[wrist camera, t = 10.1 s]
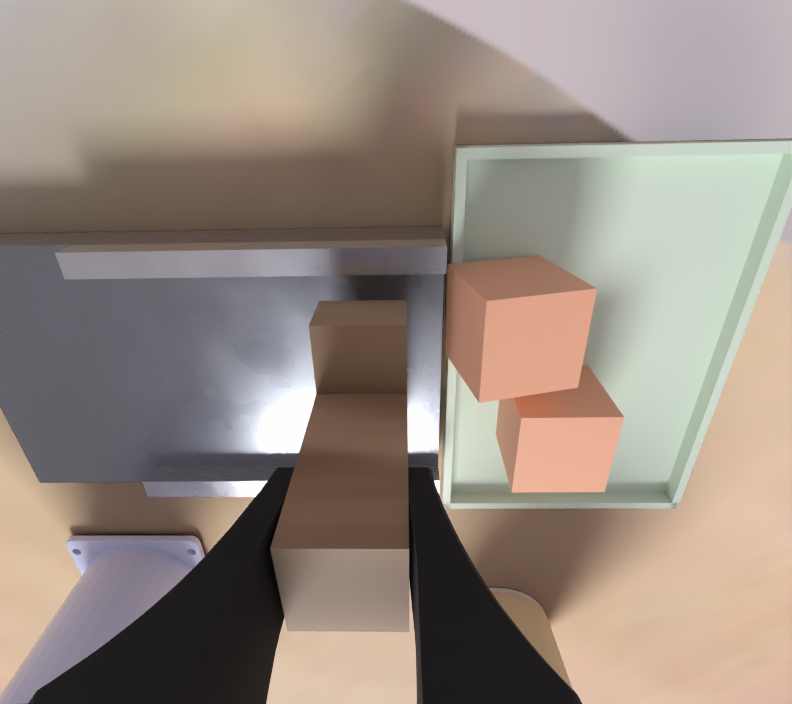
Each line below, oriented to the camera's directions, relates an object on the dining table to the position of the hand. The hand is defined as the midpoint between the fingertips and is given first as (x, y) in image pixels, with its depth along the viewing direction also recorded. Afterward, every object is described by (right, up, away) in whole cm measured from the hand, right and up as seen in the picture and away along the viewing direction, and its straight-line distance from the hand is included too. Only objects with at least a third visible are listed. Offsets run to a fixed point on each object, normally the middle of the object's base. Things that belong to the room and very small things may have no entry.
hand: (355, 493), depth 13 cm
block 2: (+6, +1, +8) cm, 10 cm away
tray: (+10, +4, +8) cm, 13 cm away
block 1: (+5, +6, +6) cm, 10 cm away
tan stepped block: (0, +2, +4) cm, 5 cm away
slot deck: (-7, +4, +9) cm, 12 cm away
